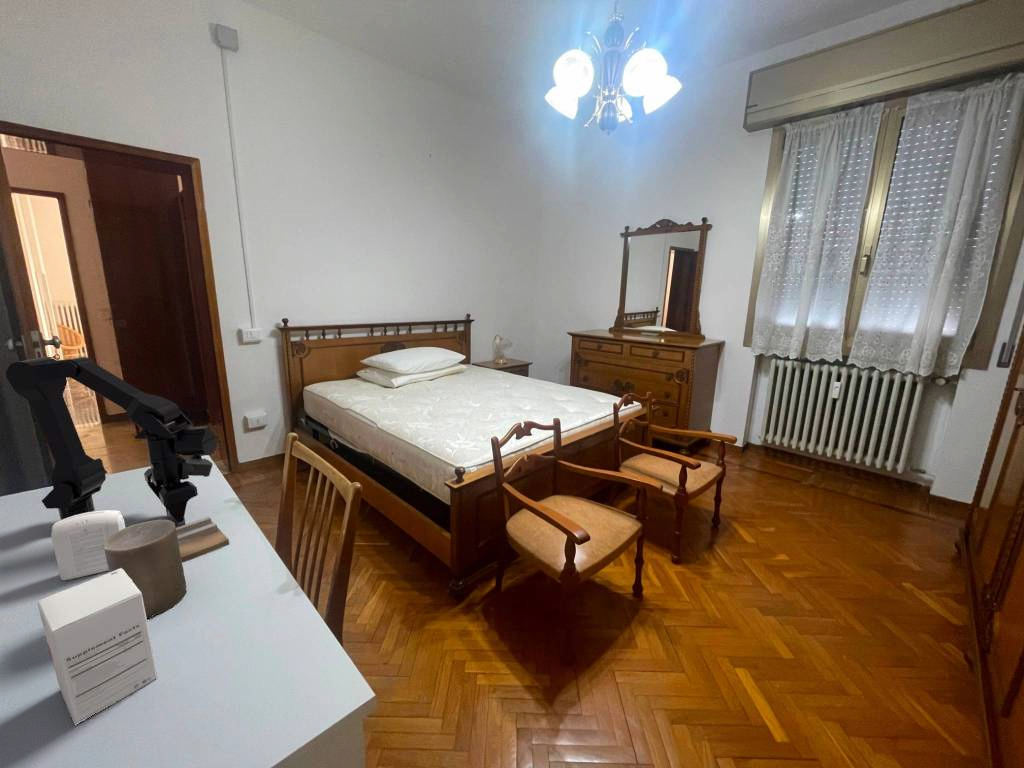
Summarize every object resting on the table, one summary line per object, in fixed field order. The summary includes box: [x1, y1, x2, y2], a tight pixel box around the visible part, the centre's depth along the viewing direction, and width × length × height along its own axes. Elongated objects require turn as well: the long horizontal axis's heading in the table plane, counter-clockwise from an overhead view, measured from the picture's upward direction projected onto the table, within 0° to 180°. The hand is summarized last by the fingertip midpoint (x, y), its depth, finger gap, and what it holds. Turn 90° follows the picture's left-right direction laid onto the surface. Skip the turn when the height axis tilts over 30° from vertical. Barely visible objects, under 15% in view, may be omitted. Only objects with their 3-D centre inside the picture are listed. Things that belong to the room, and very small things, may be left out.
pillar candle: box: [103, 519, 188, 618], centre depth 75 cm, size 10×10×15 cm
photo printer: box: [50, 509, 126, 581], centre depth 83 cm, size 10×4×12 cm, turn 123°
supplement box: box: [37, 568, 158, 725], centre depth 59 cm, size 9×9×15 cm
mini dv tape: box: [165, 508, 187, 528], centre depth 101 cm, size 8×2×6 cm, turn 53°
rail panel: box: [176, 516, 230, 564], centre depth 92 cm, size 14×12×3 cm
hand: (175, 515), depth 101 cm, fingers closed on mini dv tape, 8 cm apart
